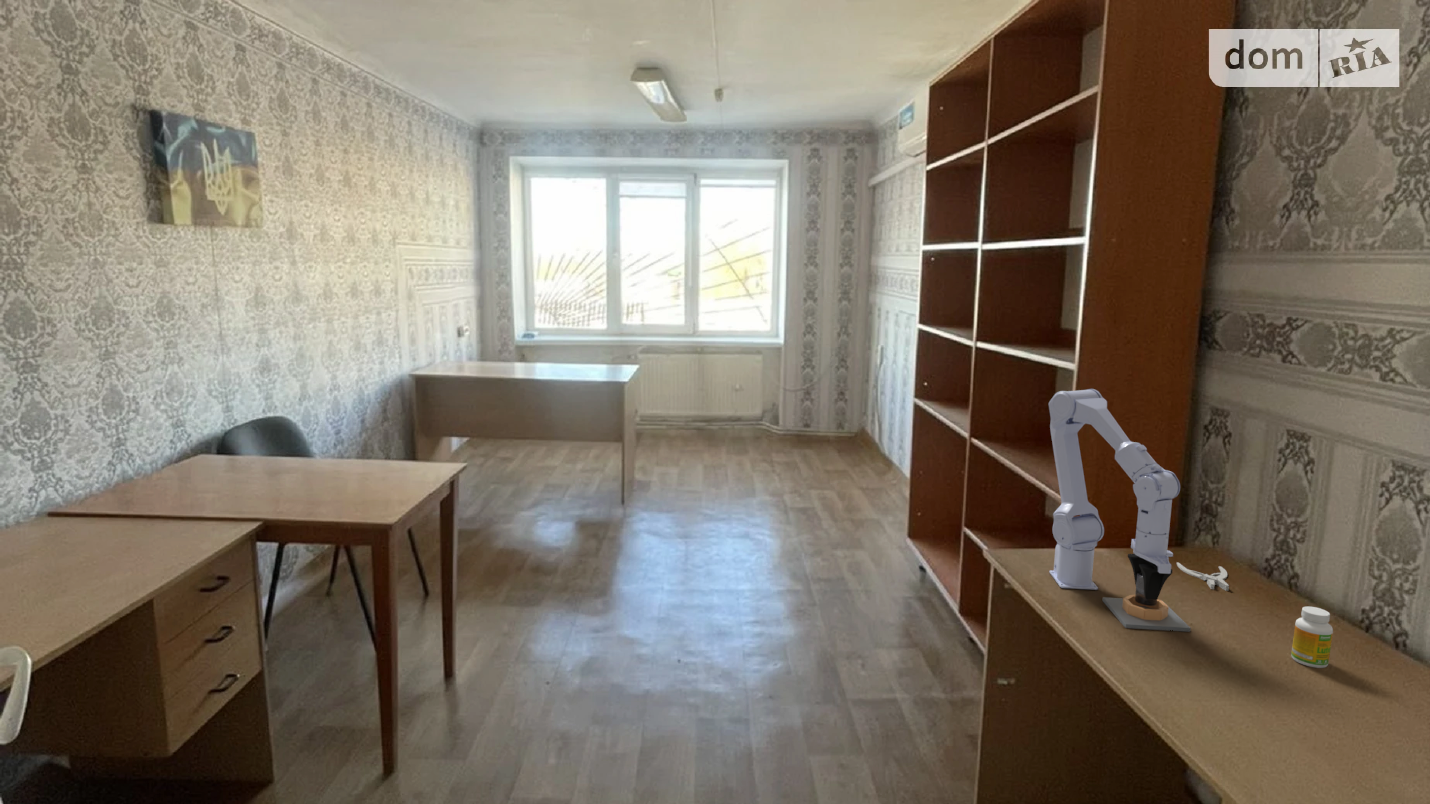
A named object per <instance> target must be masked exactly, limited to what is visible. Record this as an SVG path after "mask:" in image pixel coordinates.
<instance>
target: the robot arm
mask: <svg viewBox="0 0 1430 804" xmlns="http://www.w3.org/2000/svg"><path fill="white" fill-rule="evenodd" d="M1048 410H1049V416H1050V424H1049V428H1050V429H1049V430H1050V436H1051V441H1052V442H1051V443H1052V451H1053V456H1054V462H1055V463H1054V465H1055V469H1056V475H1057V482H1058V487H1059V488H1058V489H1059V494H1060V502H1061V503H1060V505H1059V506H1058V507H1057V508H1056V510H1055V511H1054V512H1053V513H1052V516H1053V517H1052V518H1053V524H1052V534H1053V535H1052V536H1053V538H1054V540H1055V541H1056V545H1055V548H1054V549H1055V550H1054V560H1053V561H1054V562H1053V570H1051V569H1050V570H1049V574H1050V576H1051V577H1052V578H1053V579H1054V581H1055V582H1056V584H1057V585H1058V586H1059V587H1060V588H1061V589H1074V590H1075V589H1077V590H1095V591H1097V590H1099V587H1098V586H1097V585H1096V583H1094V581H1093V568H1094V559H1095V558H1094V557H1095V548H1096V547H1097V546H1098V542H1099V541H1101V540H1102V539H1103V537H1104V535H1105V527H1104V524H1103V522H1102V520H1101V518H1100V515H1099V511H1098V509H1097V507H1095V506H1094V505H1093V504H1092V503H1090V502H1089V500H1088V493H1087V487H1086V481H1085V475H1084V474H1085V473H1084V468H1083V467H1084V466H1083V462H1082V456H1081V455H1082V454H1081V450H1080V449H1081V448H1080V443H1079V436H1078V433H1079V431H1080V430H1081V429H1082V428H1083V426H1084V425H1091V426H1092V428H1094V429H1095V430H1096V432H1097V433H1098V434H1099V435H1100V436H1101V437H1102V438H1103V439H1104V440H1105V441H1106V442H1107V443H1108V445H1110V447H1111V448H1113V449H1114V451H1115V453H1114V460H1115V461H1116V462H1117V464H1118V465H1119V466H1120V467H1121V469H1122V470H1123V471H1124V472H1125V473H1126V475H1127V476H1128V477H1129V478H1130V479H1131V481H1132V482H1133V484H1132V490H1133V493H1134V494H1135V497H1136V505H1137V508H1138V509H1137V520H1136V531H1135V538H1131V543H1130V544H1131V545H1130V548H1131V549H1132V550H1133V551H1132V553H1128V554H1127V558H1128V560H1129V563H1130V565H1131V568H1132V572H1133V577H1134V578H1133V579H1134V583H1135V586H1136V582H1137V573H1139V572H1142V575H1143V580H1144V594H1145V598H1146V599H1156V600H1157V598H1158V599H1159V596H1160V593H1161V591H1162V589H1163V586H1164V584H1165V583H1166V581H1167V580H1168V578H1169V577H1170V576H1171V575H1173V568H1172V564H1171V563H1170V561H1169V559H1170V558H1171V557H1173V558H1174V553H1173V552H1172V551H1171V550H1168V545H1169V537H1170V536H1169V535H1170V528H1171V527H1170V525H1171V524H1170V523H1171V516H1172V503H1173V499H1175V498H1177V497H1178V495H1179V494H1180V491H1181V483H1180V480H1179V479H1178V477H1177V475H1176V473H1174V472H1173V471H1170V470H1168V469H1164V468H1163V467H1162V466H1160V464H1158V463H1157V461H1155V459H1154V458H1153V456H1151V455H1150V453H1149V452H1148V449H1147V447H1146V446H1145V445H1144V444H1141V443H1140V442H1136V441H1135V442H1134V441H1132V440H1130V438H1129V437H1128V436H1127V434H1126V433H1125V432H1124V430H1123V429H1122V427H1121V426H1120V424H1119V423H1118V422H1117V420H1116V419H1115V417H1114V416H1113V415H1112V413H1111V411H1109V409H1108V400H1107V399H1105V398H1104V397H1103V396H1102V394H1101V393H1100V391H1099V390H1097V389H1094V388H1087V389H1081V390H1080V389H1078V390H1068V391H1067V390H1060V391H1057V392H1055V393H1054V395H1053V396H1052V398H1051V399H1050V400H1049V402H1048ZM1169 557H1170V558H1169Z"/></svg>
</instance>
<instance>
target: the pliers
mask: <svg viewBox="0 0 1430 804" xmlns="http://www.w3.org/2000/svg"><path fill="white" fill-rule="evenodd" d="M1176 566H1177V567H1178V569H1180V571H1182V572H1183V573H1185V574H1188V575H1189V576H1191V577H1194V578H1198V579H1200V580H1203V581H1206V584H1207V585H1208V587H1209V588H1210V590H1215V585H1216V586H1218V587H1219V588H1220V589H1222V590H1223V591H1225V592H1227V591H1228V592H1229V590H1230V585H1229V583H1227V582H1226V581H1225V580H1226V579H1227V578H1228V572H1227V570H1226V569H1225V568H1224V567H1223V566H1220V565H1219V566H1218V569H1219V571H1220V572H1214V573H1211V574H1208V573H1202V572H1199V571H1196V570H1191V569H1189V568H1188V567H1185V566H1184V565H1183V564H1181V563H1180V562H1177V561H1176Z"/></svg>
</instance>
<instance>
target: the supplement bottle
mask: <svg viewBox="0 0 1430 804" xmlns="http://www.w3.org/2000/svg"><path fill="white" fill-rule="evenodd" d="M1300 614H1301V615H1300V616H1301V617H1299V618H1297V619H1296V620H1295V624H1294V631H1293V638H1292V646H1291V652H1290V653H1291V655H1290V657H1291V658H1292V659H1293V660H1294V662H1297V663H1298V664H1301V665H1304V666H1307V667H1310V668H1315V669H1316V668H1317V669H1323V668H1327V667H1328V666H1329V663H1330V662H1329V661H1330V656H1331V655H1330V654H1331V647H1332V642H1333V634H1334V629H1333V626H1332V625H1331V624H1330V623H1329V622H1330V618H1331V614H1330V612H1329V611H1327V610H1325V609H1323V608H1320V607H1316V606H1303V607H1302V609H1301V613H1300Z"/></svg>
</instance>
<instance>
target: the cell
mask: <svg viewBox="0 0 1430 804" xmlns="http://www.w3.org/2000/svg"><path fill="white" fill-rule="evenodd" d="M1134 595H1135V601H1136V602H1138V603H1140V604H1143V605H1148V606H1154V605H1157V600H1158V599H1159V597H1158V598H1157V600H1156V599H1146V598H1145V594H1144V580H1143V575H1142V572H1139V573H1137V582H1136V585H1135V594H1134Z"/></svg>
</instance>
